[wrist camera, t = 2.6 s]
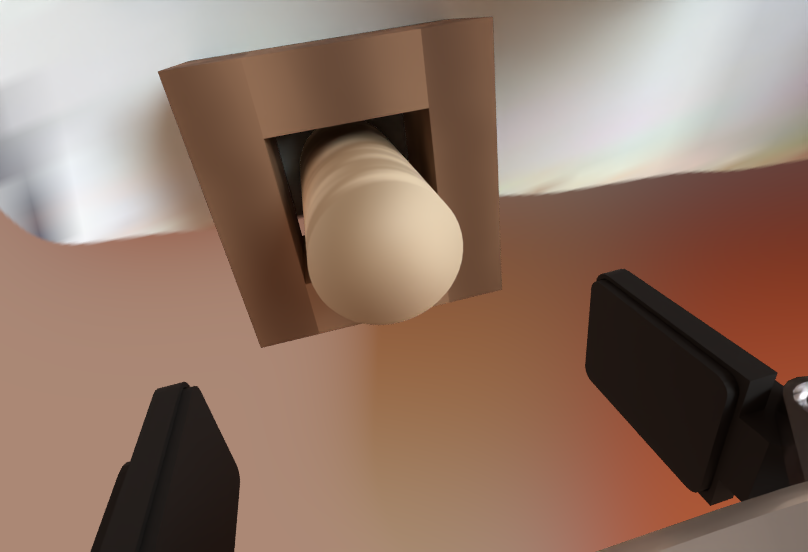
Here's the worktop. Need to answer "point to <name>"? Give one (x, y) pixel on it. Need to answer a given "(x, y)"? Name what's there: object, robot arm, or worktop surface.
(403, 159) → the maple plug
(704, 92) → the worktop surface
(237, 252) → the walnut holder
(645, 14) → the worktop surface
